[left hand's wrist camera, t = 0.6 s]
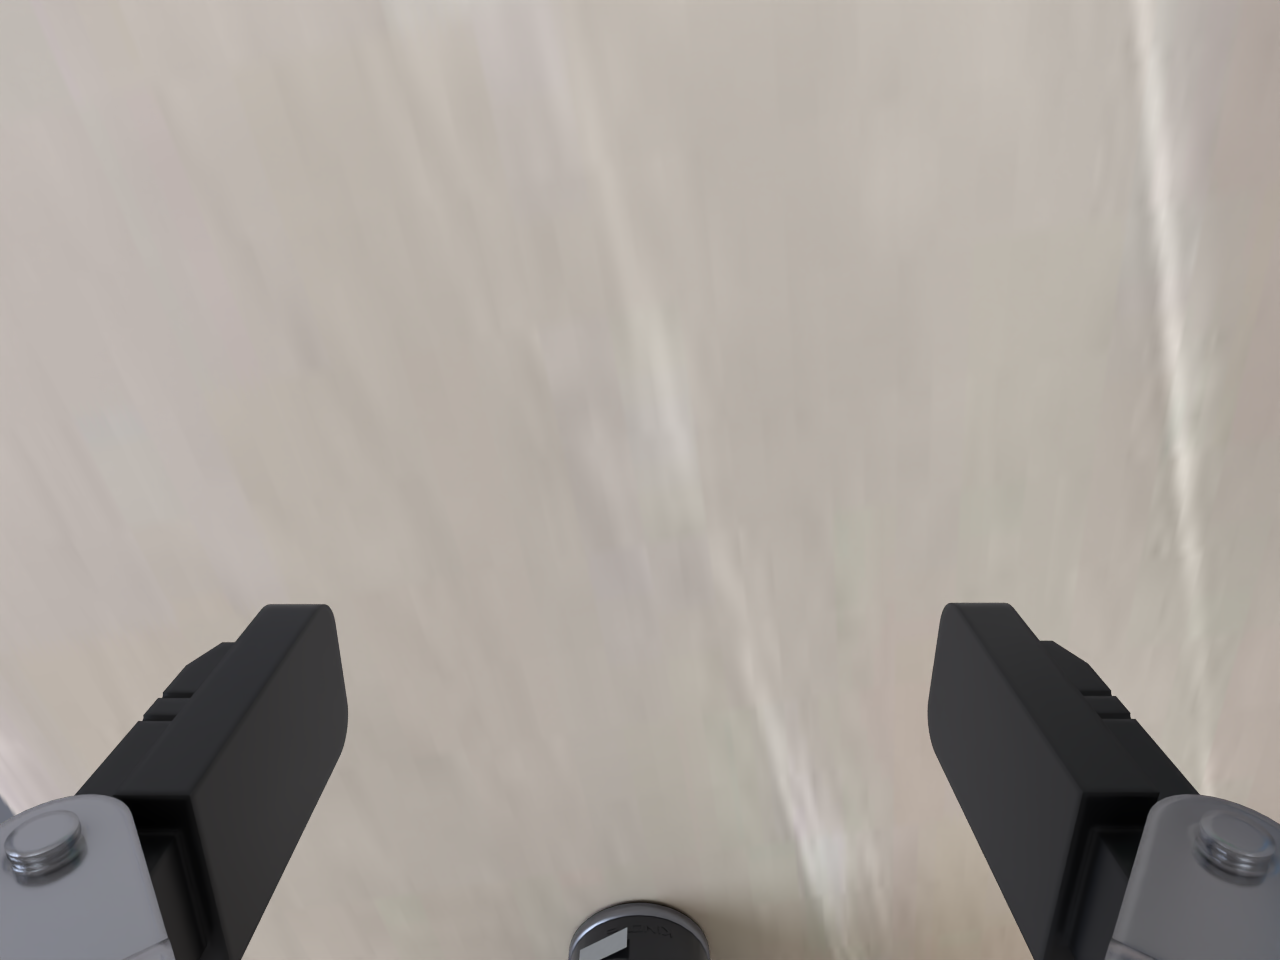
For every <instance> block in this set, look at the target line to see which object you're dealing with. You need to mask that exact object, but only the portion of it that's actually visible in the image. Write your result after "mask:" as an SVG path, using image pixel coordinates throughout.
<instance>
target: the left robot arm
mask: <svg viewBox="0 0 1280 960" xmlns="http://www.w3.org/2000/svg"><path fill="white" fill-rule="evenodd" d="M143 716H144V718H143V721H138V722H137V723H136V724H135V726H134V727H133V728H132V729H131V730H130V731H129V733H128V734H127V735H126V736H125V737H124V738H123V740H122V741H121V742H120V743H119V744H118V745H117V747H116V748H115V749H114V750H113V751H112V752H111V754H110V755H109V756H108V757H107V758H106V759H105V761H104V762H103V763H102V764H101V765H100V766H99V767H98V769H97V770H96V771H95V772H94V773H93V774H92V776H91V777H90V778H89V779H88V780H87V781H86V783H85V784H84V785H83V786H82V787H81V788H80V790H79V791H78V792H77V793H76V794H75V795H74V796H69V797H64V798H60V799H56V800H52V801H49V802H46V803H43V804H40V805H38V806H35V807H33V808H30V809H28V810H25V811H23V812H21V813H19V814H17V815H15V816H13V817H12V818H10V819H8V820H7V821H5V822H3V823H2V824H0V960H241V959H242V957H243V954H244V952H245V950H246V948H247V946H248V944H249V942H250V940H251V938H252V936H253V934H254V932H255V930H256V928H257V926H258V924H259V922H260V919H261V917H262V915H263V913H264V911H265V909H266V907H267V905H268V903H269V901H270V899H271V897H272V895H273V893H274V891H275V889H276V886H277V884H278V882H279V880H280V878H281V876H282V874H283V872H284V870H285V868H286V866H287V864H288V862H289V860H290V858H291V856H292V854H293V851H294V849H295V847H296V845H297V843H298V841H299V839H300V837H301V835H302V833H303V831H304V829H305V827H306V825H307V823H308V821H309V819H310V816H311V814H312V812H313V810H314V808H315V806H316V804H317V802H318V800H319V798H320V796H321V794H322V792H323V790H324V788H325V786H326V784H327V781H328V779H329V777H330V775H331V773H332V771H333V769H334V767H335V765H336V763H337V761H338V759H339V757H340V755H341V752H342V749H343V746H344V743H345V738H346V733H347V724H348V705H347V697H346V691H345V684H344V677H343V670H342V664H341V657H340V650H339V644H338V637H337V630H336V624H335V619H334V615H333V612H332V610H331V609H330V607H329V606H328V605H325V604H269V605H266V606H265V607H263V608H262V609H261V611H260V612H259V613H258V614H257V616H256V617H255V618H254V619H253V621H252V622H251V623H250V624H249V626H248V627H247V628H246V629H245V631H244V632H243V633H242V634H241V636H240V637H239V638H238V639H237V640H236V642H222V643H221V644H219V645H218V646H216V647H214V648H213V649H211V650H210V651H208V652H207V653H205V654H203V655H202V656H200V657H199V658H197V659H196V660H194V661H193V662H191V663H189V664H188V665H186V666H185V667H184V669H183V670H182V671H181V672H180V673H179V674H178V676H177V677H176V678H175V679H174V680H173V681H172V683H171V684H170V685H169V686H168V687H167V688H166V690H165V691H164V692H163V697H162V698H158V699H157V700H156V701H155V702H154V704H153V705H152V706H151V707H150V708H149V709H148V711H147V712H146V713H145V714H144V715H143ZM928 726H929V733H930V738H931V743H932V746H933V749H934V752H935V754H936V756H937V758H938V760H939V762H940V764H941V766H942V769H943V771H944V773H945V775H946V777H947V779H948V781H949V783H950V785H951V787H952V789H953V791H954V794H955V796H956V798H957V800H958V802H959V804H960V806H961V808H962V810H963V812H964V814H965V816H966V819H967V821H968V823H969V825H970V827H971V829H972V831H973V833H974V835H975V837H976V839H977V841H978V844H979V846H980V848H981V850H982V852H983V854H984V856H985V858H986V860H987V862H988V864H989V867H990V869H991V871H992V873H993V875H994V877H995V879H996V881H997V883H998V885H999V887H1000V889H1001V892H1002V894H1003V896H1004V898H1005V900H1006V902H1007V904H1008V906H1009V908H1010V910H1011V912H1012V914H1013V917H1014V919H1015V921H1016V923H1017V925H1018V927H1019V929H1020V931H1021V933H1022V935H1023V937H1024V939H1025V942H1026V944H1027V946H1028V948H1029V950H1030V952H1031V954H1032V956H1033V958H1034V960H1280V824H1278V823H1277V822H1275V821H1273V820H1272V819H1270V818H1268V817H1267V816H1265V815H1263V814H1261V813H1259V812H1257V811H1255V810H1252V809H1250V808H1247V807H1245V806H1242V805H1240V804H1237V803H1234V802H1231V801H1228V800H1224V799H1220V798H1216V797H1211V796H1204V795H1200V794H1199V793H1198V792H1197V791H1196V790H1195V788H1194V787H1193V786H1192V785H1191V784H1190V783H1189V781H1188V780H1187V779H1186V778H1185V777H1184V776H1183V774H1182V773H1181V772H1180V771H1179V770H1178V769H1177V767H1176V766H1175V765H1174V764H1173V763H1172V761H1171V760H1170V759H1169V758H1168V757H1167V756H1166V754H1165V753H1164V752H1163V751H1162V750H1161V749H1160V747H1159V746H1158V745H1157V744H1156V743H1155V742H1154V740H1153V739H1152V738H1151V737H1150V736H1149V734H1148V733H1147V732H1146V731H1145V730H1144V729H1143V727H1142V726H1141V725H1140V724H1139V723H1138V722H1137V720H1136V719H1131V717H1130V712H1129V711H1128V710H1127V709H1126V708H1125V706H1124V705H1123V704H1122V703H1121V702H1120V700H1119V699H1118V698H1117V697H1116V696H1112V695H1111V690H1110V689H1109V688H1108V686H1107V685H1106V684H1105V683H1104V682H1103V681H1102V679H1101V678H1100V677H1099V676H1098V675H1097V673H1096V672H1095V671H1094V670H1093V669H1092V668H1091V666H1090V665H1089V664H1088V663H1086V662H1085V661H1083V660H1082V659H1080V658H1078V657H1077V656H1075V655H1074V654H1072V653H1071V652H1069V651H1068V650H1066V649H1064V648H1063V647H1061V646H1060V645H1058V644H1057V643H1055V642H1053V641H1039V639H1038V638H1037V637H1036V636H1035V634H1034V633H1033V632H1032V631H1031V629H1030V628H1029V627H1028V626H1027V624H1026V623H1025V622H1024V621H1023V619H1022V618H1021V617H1020V616H1019V614H1018V613H1017V612H1016V611H1015V609H1014V608H1013V607H1012V606H1011V605H1010V604H1008V603H948V604H947V605H946V606H945V608H944V610H943V612H942V615H941V619H940V625H939V632H938V639H937V645H936V652H935V659H934V666H933V673H932V679H931V686H930V693H929V700H928ZM569 960H710V954H709V946H708V942H707V940H706V937H705V935H704V934H703V932H702V930H701V929H700V928H699V927H698V926H697V924H696V923H695V922H693V921H692V920H691V919H690V918H688V917H687V916H685V915H684V914H682V913H680V912H678V911H676V910H674V909H671V908H668V907H665V906H661V905H656V904H650V903H629V904H622V905H617V906H613V907H610V908H607V909H605V910H602V911H600V912H598V913H596V914H595V915H593V916H592V917H590V918H589V919H587V920H586V921H585V922H584V923H583V924H582V925H581V926H580V927H579V928H578V930H577V931H576V933H575V934H574V936H573V938H572V941H571V944H570V949H569Z"/></svg>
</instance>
